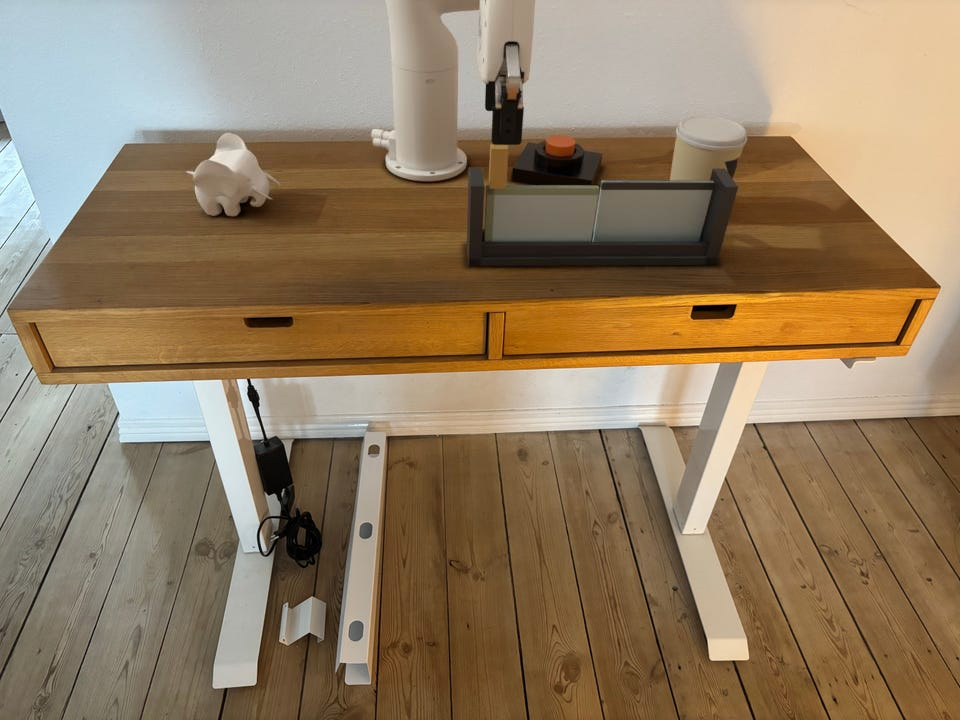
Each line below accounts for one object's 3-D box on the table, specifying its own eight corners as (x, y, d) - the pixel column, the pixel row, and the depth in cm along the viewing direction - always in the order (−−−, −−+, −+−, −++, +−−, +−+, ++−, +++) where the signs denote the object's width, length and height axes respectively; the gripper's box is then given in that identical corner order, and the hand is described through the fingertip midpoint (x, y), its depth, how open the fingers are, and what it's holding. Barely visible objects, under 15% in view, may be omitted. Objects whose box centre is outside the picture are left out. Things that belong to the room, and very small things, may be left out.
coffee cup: (728, 227, 102) (751, 145, 94) (660, 219, 103) (677, 137, 96) (724, 197, 109) (746, 118, 101) (661, 189, 110) (677, 111, 103)
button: (542, 155, 110) (543, 144, 109) (548, 144, 113) (549, 133, 112) (571, 159, 109) (572, 148, 108) (576, 148, 112) (577, 137, 111)
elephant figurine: (271, 226, 98) (260, 164, 92) (182, 221, 98) (166, 159, 92) (288, 193, 105) (280, 133, 100) (205, 189, 105) (192, 129, 100)
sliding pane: (484, 250, 92) (488, 148, 84) (483, 244, 93) (487, 143, 85) (590, 250, 93) (605, 149, 85) (588, 244, 94) (603, 144, 86)
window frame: (468, 266, 92) (470, 186, 85) (466, 245, 96) (468, 167, 89) (716, 265, 94) (738, 186, 87) (704, 245, 98) (725, 168, 91)
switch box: (511, 181, 111) (513, 156, 108) (527, 155, 118) (528, 131, 116) (589, 194, 108) (593, 169, 106) (600, 166, 116) (604, 142, 113)
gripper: (467, -62, 78) (465, 98, 89) (478, -26, 65) (473, 158, 76) (537, -61, 79) (526, 99, 89) (562, -24, 65) (545, 158, 76)
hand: (502, 126), depth 82 cm, fingers open, 9 cm apart
